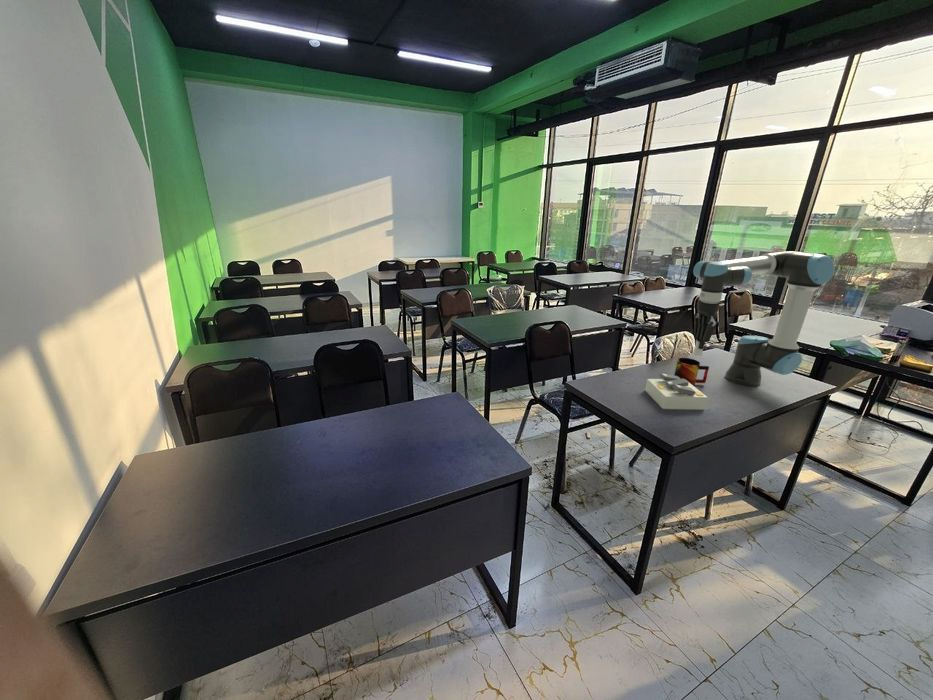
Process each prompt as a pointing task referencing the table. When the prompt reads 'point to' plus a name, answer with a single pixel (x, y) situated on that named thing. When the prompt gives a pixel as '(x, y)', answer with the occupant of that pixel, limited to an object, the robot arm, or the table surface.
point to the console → (674, 396)
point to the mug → (690, 370)
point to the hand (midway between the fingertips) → (697, 354)
